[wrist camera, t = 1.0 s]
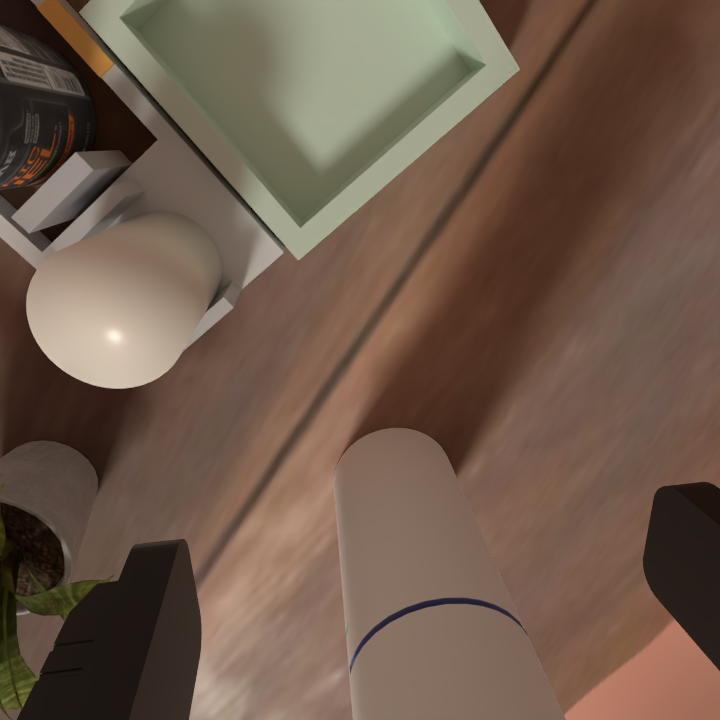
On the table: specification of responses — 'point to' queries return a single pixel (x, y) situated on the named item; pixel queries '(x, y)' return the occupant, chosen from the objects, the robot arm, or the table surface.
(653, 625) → the table surface
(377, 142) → the tray
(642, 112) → the table surface
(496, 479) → the table surface
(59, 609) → the house plant
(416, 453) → the cylindrical container
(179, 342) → the block
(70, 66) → the pill bottle
